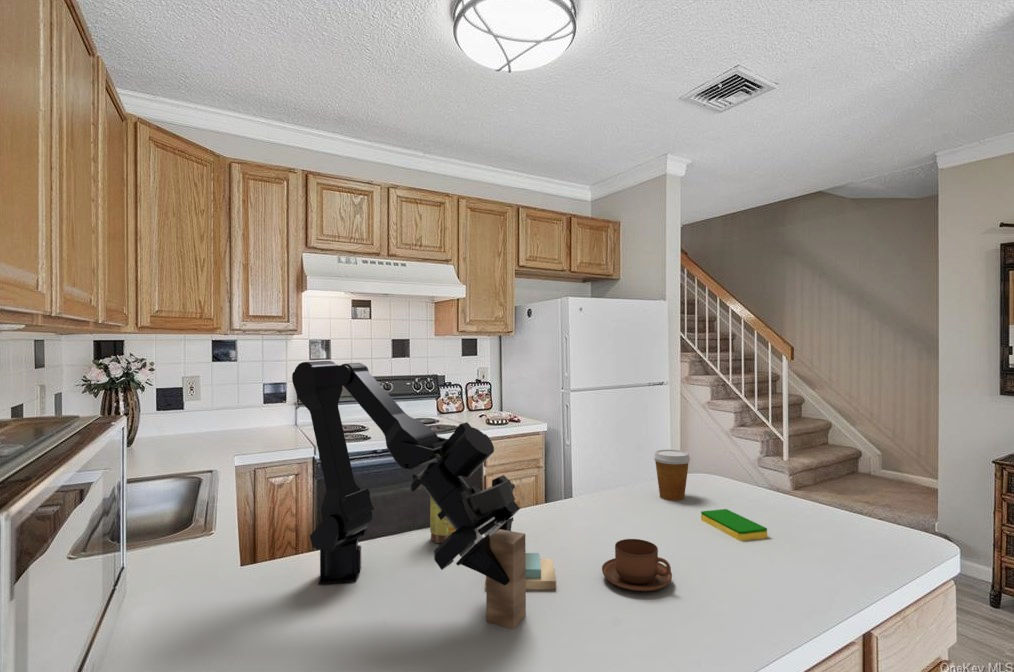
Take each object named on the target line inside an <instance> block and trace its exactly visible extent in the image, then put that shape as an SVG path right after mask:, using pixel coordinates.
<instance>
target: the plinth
mask: <svg viewBox="0 0 1014 672" xmlns="http://www.w3.org/2000/svg"><path fill="white" fill-rule="evenodd" d="M484 588H485V590H486V579H485V587H484ZM527 590H536V591H537V590H538V591H539V590H540V591H542V590H547V591H553V590H555V591H556V590H557V580H556V573H555V567H554V559H553V558H541V556H540V553H539V552H526V591H527Z"/></svg>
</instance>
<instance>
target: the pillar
mask: <svg viewBox="0 0 1014 672" xmlns="http://www.w3.org/2000/svg"><path fill="white" fill-rule="evenodd" d="M489 538H490V549H491V551H492V552H493V554H494V555H495V557H496V558H497V560H498V561H499V563H500V565H501V566H502V568H503V569H504V571H505V572H506V574H507V576H508V578H509V580H510V581H509V582H508V583H507V584H506V585H503V584H501V583H499V582H497V581H495V580H493V579H491V578H489V577H487V576H485V580H486V589H485V590H486V599H485V600H486V604H485V605H486V606H485V608H486V611H485V612H486V613H485V614H486V616H485V617H486V621H485V622H486V623H488V624H489V623H490V624H493V625H497V626H502V627H506V628H509V629H512V630H513V629H515V628H516V627H517V626H518V624H519V623H520V622H521V620H523V618H524V617H526V614H527V610H526V609H527V602H526V600H527V599H526V598H527V596H526V595H527V594H526V593H527V592H526V591H527V590H526V553H527V552H526V533H523V532H519V531H512V530H511V531H507V530H501V529H499V530H498V531H496V532H495V533H494V534H492V535H491V536H489Z"/></svg>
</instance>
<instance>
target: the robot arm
mask: <svg viewBox="0 0 1014 672" xmlns="http://www.w3.org/2000/svg"><path fill="white" fill-rule="evenodd" d="M291 375H292V377H291V380H292V384H293V388H294V391H295V393H296V397H297V398H298V400H299V401H300V402H301V403H302V405H303V406H304V407H305V408H306V409H307V410H308V411H309V413H310V418H311V422H312V426H313V427H312V429H313V433H314V436H315V441H316V447H317V450H318V451H317V452H318V456H319V460H320V465H321V470H322V474H323V475H322V476H323V479H324V483H325V493H324V496H323V500H322V504H321V508H320V511H321V523H320V524H319V525H317V527H316V528H315V529H314V531H313V532H312V533H310V535H309V538H310V543H311V545H312V549H313V548H314V549H318V550H319V578H318V580H317V583H318V585H328V584H329V585H330V584H343V583H353V582H356V581H357V580H358V575H359V574H360V573H361V570H362V545H359V538H362V537H365V536H366V532H367V529H368V527H369V526H370V524H371V521H372V520H373V511H374V510H375V508H374V506H373V504H372V501H371V493H370V490H369V489H368V487H365V488H364V489H362V488H361V487H360V486H359V485H358V484H357V482H356V481H355V478H354V473H353V468H352V464H351V460H350V455H349V451H348V444H347V441H346V437H345V436H346V435H345V432H344V427H343V422H342V418H341V414H340V413H341V412H340V409H339V403H340V399H341V396H342V393H343V387H344V388H345V390H347V392H348V393H349V394H350V395H351V396H352V398H353V399H354V400H355V401H356V402H357V403H358V404H359V406H360V407H361V408H362V409H363V411H364V412H366V414H367V416H369V418H370V419H371V420H372V421H373V422H374V424H375V425H376V426H377V427H378V428H379V429H380V431H381V432H382V433H383V436H384V438H385V445H386V449H387V450H388V452H389V453H390V455H391V456H392V457H391V458H393V460H394V462H395V463H396V465H397V466H399V468H401V469H403V470H413V469H416V468H418V467H421V466H423V465H426V464H427V466H426V467H425V468H424V469H423V470H422V471H418V472H414V473H413V474H412V475H411V476H412V482H411V485H410V491H411V492H412V493H413V492H416V491H418V490H420V489H422V488H424V490H425V491H426V492H427V494H428V496H429V497H431V498H432V499H433V501H434V502H435V503H436V505H437V506H438V507H439V509H440V510H441V512H440V513H439V514H438V515H437V516H438V517H439V518H440V520H442V519H444V518H447V519H448V521H449V522H450V523H451V525H452V526H453V527H454V529H455V530H456V531H454V532H453V533H452V534H451V535H450V536H448V537H447V538H446V539H445V540H444V541H443V542H442V543H439V544H440V545H438V546H437V547H436V548H435V549H434V551H433V561H434V562H435V563H436V565H437V566H438V567H439V568H440V569H439V570H441V571H443V570H444V569H446V568H447V567H449V566H450V565H451V564H452V563H454V559H455V558H456V557H458V555H459V557H460V559H459V560H457V561H456V563H455V564H456V565H457V566H458V567H459V566H460V565H461V566H463V567H466V568H469V569H471V570H473V571H475V572H478V573H480V574H482V575H483V576H485V577H486V576H487V577H489V578H491V579H493V580H495V581H497V582H499V583H501V584H503V585H506V584H507V583H508V582H509V581H510V580H509V578H508V576H507V574H506V572H505V571H504V569H503V568H502V566H501V565H500V563H499V561H498V560H497V558H496V557H495V555H494V554H493V552H492V551H491V549H490V538H489V536H491V535H492V534H494V533H495V532H496V531H498V530H499V529H501V530H507V531H512V525H513V522H514V517H513V516H514V515H516V514H517V513H518V512H519V510H520V509H521V508H520V506H518V504H517V503H516V502H515V500H516V498H515V495H514V489H515V488H516V486H515V484H514V483H512V482H511V480H510V479H509V478H507V477H506V475H504V474H502V475H500V476H497V477H496V478H494V479H492V480H491V486H490V487H487V488H486V489H483V490H481V489H480V488H479V487H478V486H477V485H475V484H473V485H471V486H469V485H468V484H467V482H466V481H465V480H464V478H470V477H471V476H472V475H473V474H474V473H475V472H477V470H478V469H479V468H480V467H481V466H482V465H483V464H484V463H485V461H486V460H488V459H489V457H490V456H492V454H493V453H494V452H495V451H494V450H495V447H494V443H493V442H492V440H491V438H490V437H489V436H488V435H487V434H486V433H483V432H482V431H481V430H479V429H478V428H475V427H473V426H471V424H469V422H463V423H460V424H459V425H458V426H456V428H455V429H454V432H453V433H452V434H451V435H450V436H449V437H448V438H445V437H441V436H439V435H438V434H437V433H436V431H435V432H434V431H433V430H432V429H431V428H429V426H428V425H426V424H424V422H422V421H420V420H418V419H415V418H414V417H412V416H410V415H409V414H407V413H406V412H405V411H404V410H403V409H402V408H401V407H400V405H399V404H398V403H397V402H396V401H395V400H394V399H393V397H391V395H390V394H389V393H388V392H387V391H386V390H385V389H384V388H383V386H382V385H381V383H379V382H378V381H377V379H376V378H375V377H374V376H373V375H372V374H371V373H370V371H369V368H368V367H367V366H366V365H365V364H364V363H362V362H361V363H360V362H353V363H352V362H348V363H342V364H336V363H335V362H334V361H331V360H318V361H316V360H314V361H303V362H300V363H299V364H297V366H296V367H295V369H294V371H293V372H292V374H291ZM440 456H441V459H440V460H439V461H438V462H437V461H436V462H434V461H435V460H437V457H440ZM462 477H464V478H462ZM483 535H484V537H483Z"/></svg>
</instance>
